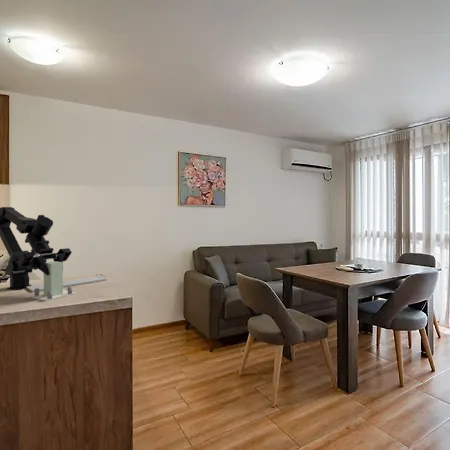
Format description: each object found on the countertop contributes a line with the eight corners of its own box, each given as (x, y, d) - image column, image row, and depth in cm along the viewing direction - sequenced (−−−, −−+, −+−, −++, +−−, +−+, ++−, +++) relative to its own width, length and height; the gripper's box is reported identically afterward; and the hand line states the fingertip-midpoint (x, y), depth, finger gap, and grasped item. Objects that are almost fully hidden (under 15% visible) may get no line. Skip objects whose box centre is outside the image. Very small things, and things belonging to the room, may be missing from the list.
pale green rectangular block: (43, 294, 118) (43, 262, 118) (55, 292, 122) (54, 261, 122) (51, 296, 116) (51, 263, 116) (62, 293, 120) (62, 262, 120)
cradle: (30, 297, 116) (30, 289, 116) (60, 290, 127) (60, 283, 127) (45, 301, 111) (45, 293, 111) (75, 293, 122) (75, 286, 122)
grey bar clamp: (24, 288, 132) (32, 294, 124) (24, 282, 132) (32, 287, 124) (95, 278, 154) (106, 281, 146) (95, 272, 154) (106, 275, 146)
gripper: (53, 254, 134) (68, 281, 129) (5, 259, 118) (21, 291, 113) (63, 237, 130) (80, 264, 125) (16, 240, 114) (33, 272, 109)
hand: (55, 273), depth 118 cm, fingers open, 5 cm apart
